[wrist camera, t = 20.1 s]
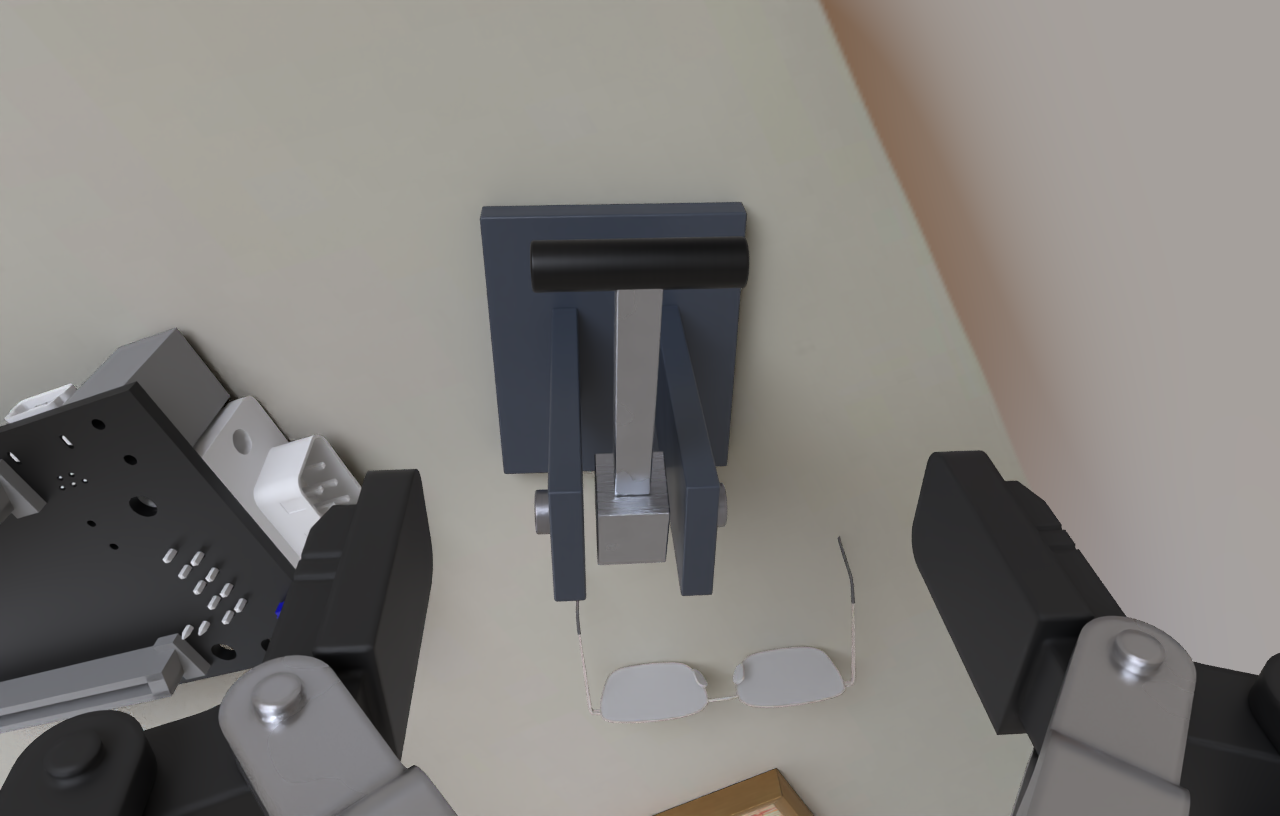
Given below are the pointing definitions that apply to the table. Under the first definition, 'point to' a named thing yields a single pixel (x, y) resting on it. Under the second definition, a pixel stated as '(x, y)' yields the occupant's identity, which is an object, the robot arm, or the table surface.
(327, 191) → the table surface
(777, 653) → the eyeglasses
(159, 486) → the circuit board
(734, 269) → the tap lever
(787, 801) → the picture frame
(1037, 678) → the robot arm
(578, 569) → the bracket
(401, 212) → the table surface
